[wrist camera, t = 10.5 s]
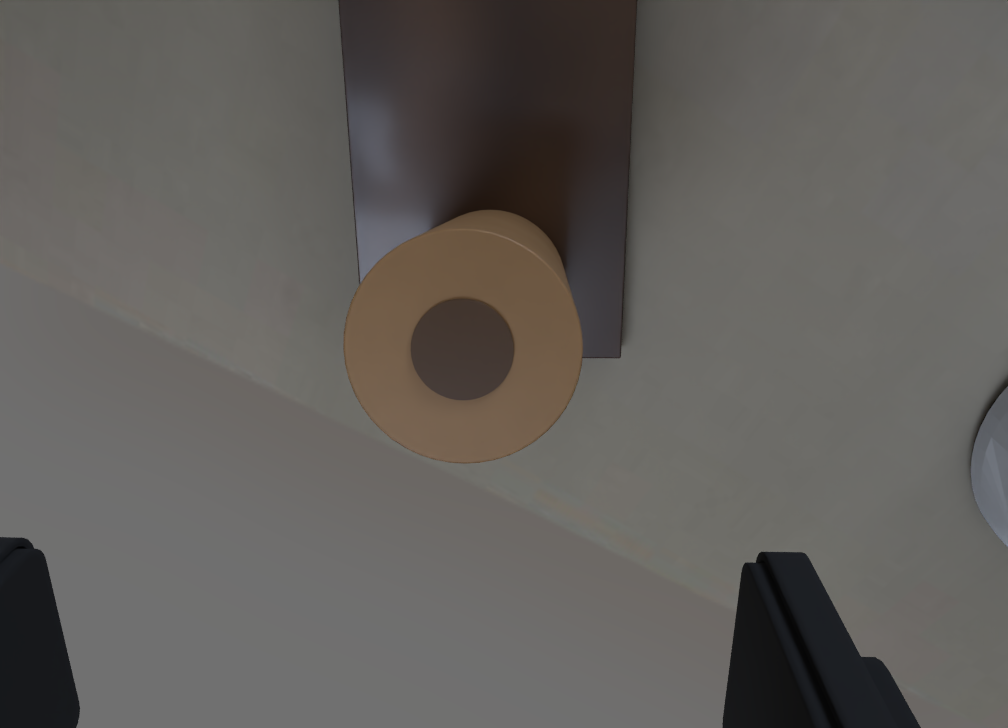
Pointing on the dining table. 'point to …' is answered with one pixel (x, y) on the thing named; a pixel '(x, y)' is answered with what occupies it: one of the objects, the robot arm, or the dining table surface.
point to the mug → (993, 467)
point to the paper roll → (466, 339)
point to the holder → (497, 130)
